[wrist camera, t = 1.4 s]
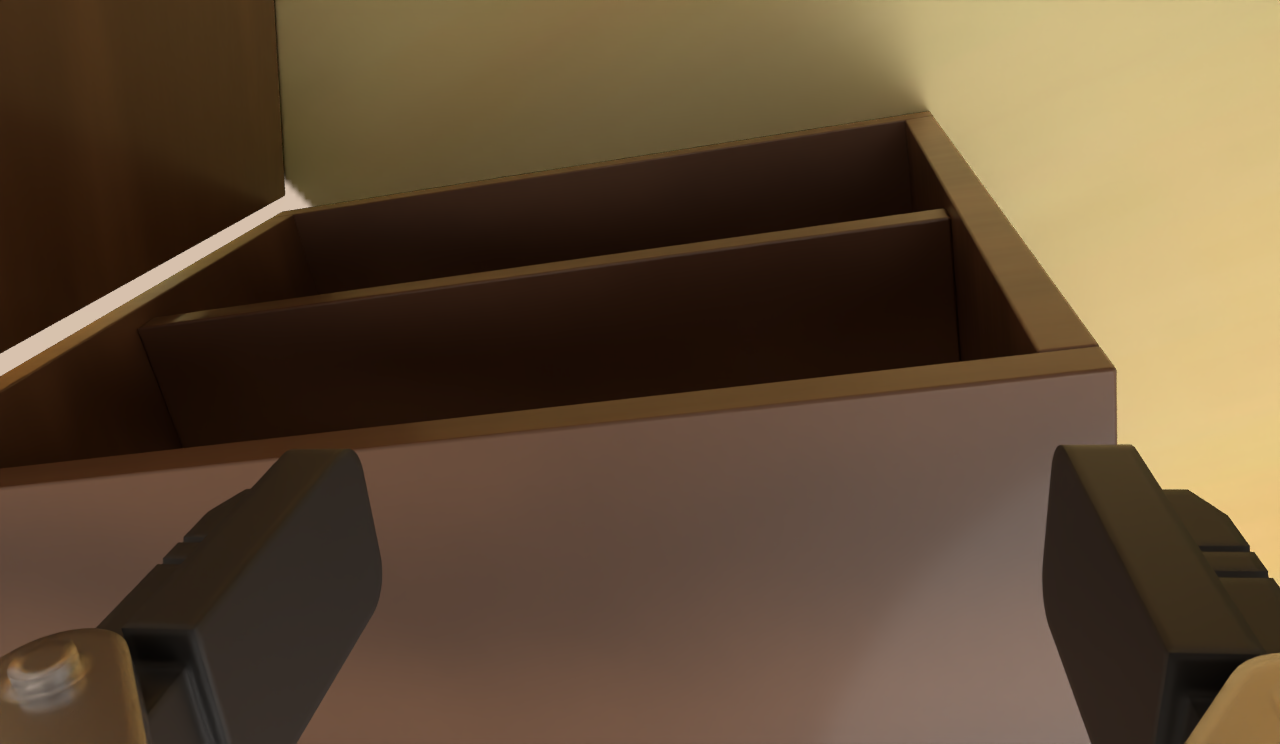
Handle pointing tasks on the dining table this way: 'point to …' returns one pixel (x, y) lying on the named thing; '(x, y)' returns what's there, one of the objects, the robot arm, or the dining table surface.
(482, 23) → the dining table surface
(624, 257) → the cupboard
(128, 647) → the robot arm
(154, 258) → the door
